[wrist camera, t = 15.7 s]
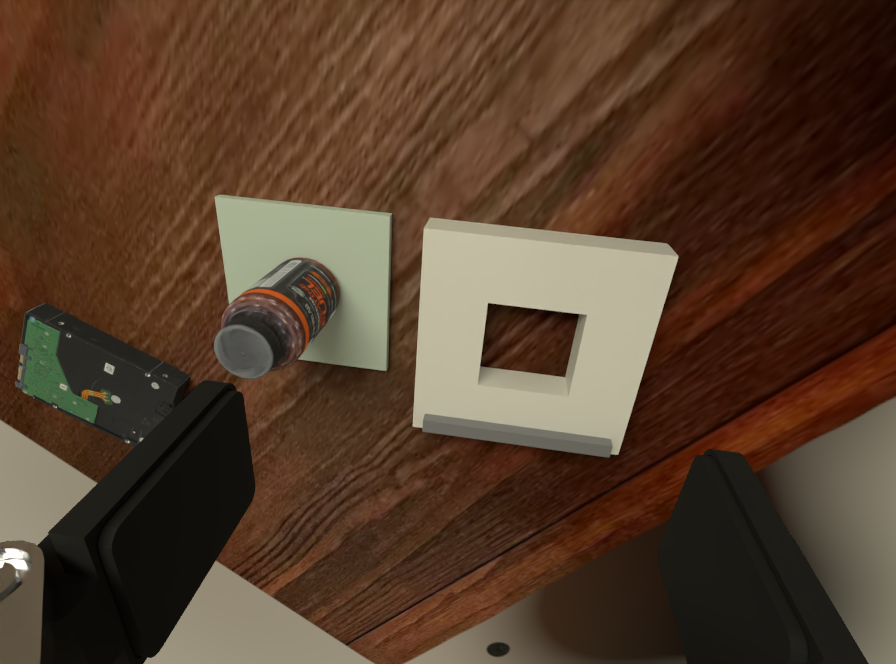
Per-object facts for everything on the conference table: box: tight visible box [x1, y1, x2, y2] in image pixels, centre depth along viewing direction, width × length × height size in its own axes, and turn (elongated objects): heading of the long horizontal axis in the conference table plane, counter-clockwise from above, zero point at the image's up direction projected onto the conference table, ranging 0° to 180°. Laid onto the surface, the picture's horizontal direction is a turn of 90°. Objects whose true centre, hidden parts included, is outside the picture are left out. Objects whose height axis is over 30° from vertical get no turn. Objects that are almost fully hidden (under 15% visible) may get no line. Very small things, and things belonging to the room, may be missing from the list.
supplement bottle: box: [214, 257, 340, 379], centre depth 37 cm, size 6×6×11 cm
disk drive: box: [15, 303, 190, 447], centre depth 50 cm, size 10×3×15 cm
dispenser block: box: [413, 218, 679, 458], centre depth 41 cm, size 18×18×4 cm
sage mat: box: [215, 195, 392, 371], centre depth 43 cm, size 14×14×1 cm
